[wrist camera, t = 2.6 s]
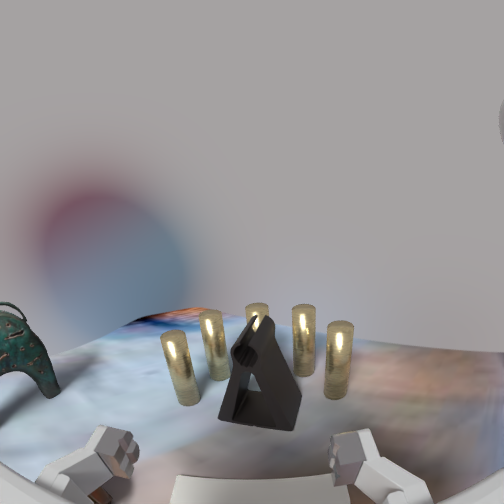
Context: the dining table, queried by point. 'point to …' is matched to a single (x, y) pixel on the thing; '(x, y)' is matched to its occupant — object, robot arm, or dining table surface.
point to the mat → (259, 491)
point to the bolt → (100, 496)
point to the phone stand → (260, 381)
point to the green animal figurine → (25, 352)
